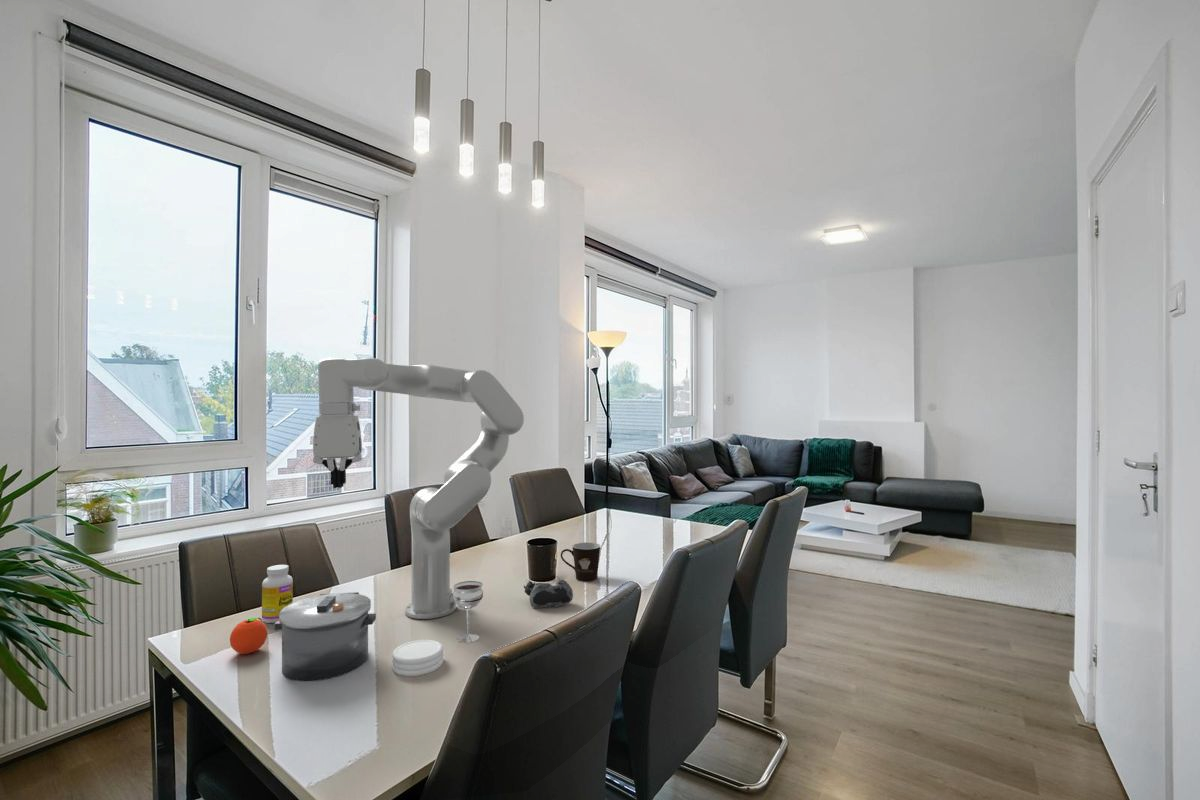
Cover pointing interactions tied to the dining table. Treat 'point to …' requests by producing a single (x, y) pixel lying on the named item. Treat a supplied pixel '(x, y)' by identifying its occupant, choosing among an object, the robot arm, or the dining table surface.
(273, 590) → the supplement bottle
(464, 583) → the wineglass
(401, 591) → the dining table surface
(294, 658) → the pot
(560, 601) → the bison figurine
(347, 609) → the lid
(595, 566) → the coffee mug
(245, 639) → the clementine
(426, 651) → the white round stack
